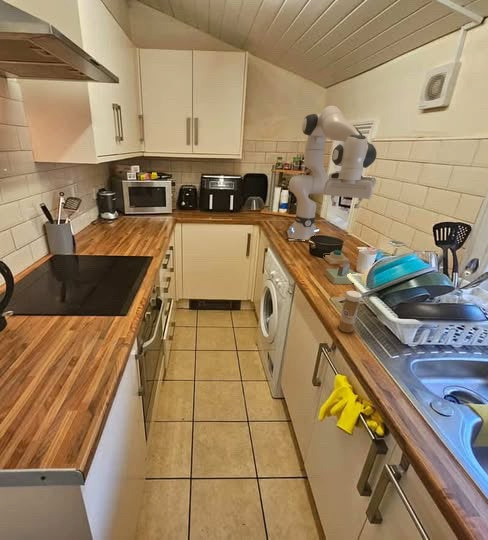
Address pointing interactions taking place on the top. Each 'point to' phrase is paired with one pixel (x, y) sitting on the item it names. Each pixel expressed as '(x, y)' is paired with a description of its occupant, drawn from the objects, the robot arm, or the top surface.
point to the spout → (343, 269)
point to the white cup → (365, 260)
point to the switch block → (336, 258)
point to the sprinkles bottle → (349, 311)
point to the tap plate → (337, 279)
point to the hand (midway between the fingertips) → (344, 207)
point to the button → (337, 252)
